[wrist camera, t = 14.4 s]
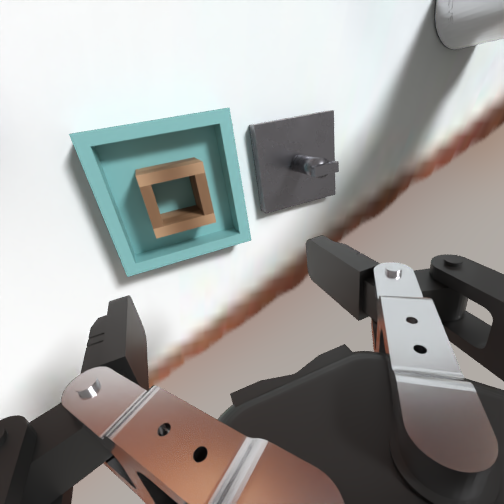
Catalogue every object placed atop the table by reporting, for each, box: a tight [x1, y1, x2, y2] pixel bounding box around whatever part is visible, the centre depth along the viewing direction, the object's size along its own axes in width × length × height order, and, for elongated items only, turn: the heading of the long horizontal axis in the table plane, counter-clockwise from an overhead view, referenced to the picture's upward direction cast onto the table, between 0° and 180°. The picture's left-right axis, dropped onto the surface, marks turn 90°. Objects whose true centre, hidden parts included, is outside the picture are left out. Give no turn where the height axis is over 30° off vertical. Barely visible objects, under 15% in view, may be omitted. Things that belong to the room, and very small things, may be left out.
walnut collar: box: [136, 157, 216, 239], centre depth 29 cm, size 6×6×4 cm
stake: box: [249, 110, 339, 213], centre depth 32 cm, size 10×10×7 cm
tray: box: [69, 108, 251, 277], centre depth 30 cm, size 14×14×4 cm
